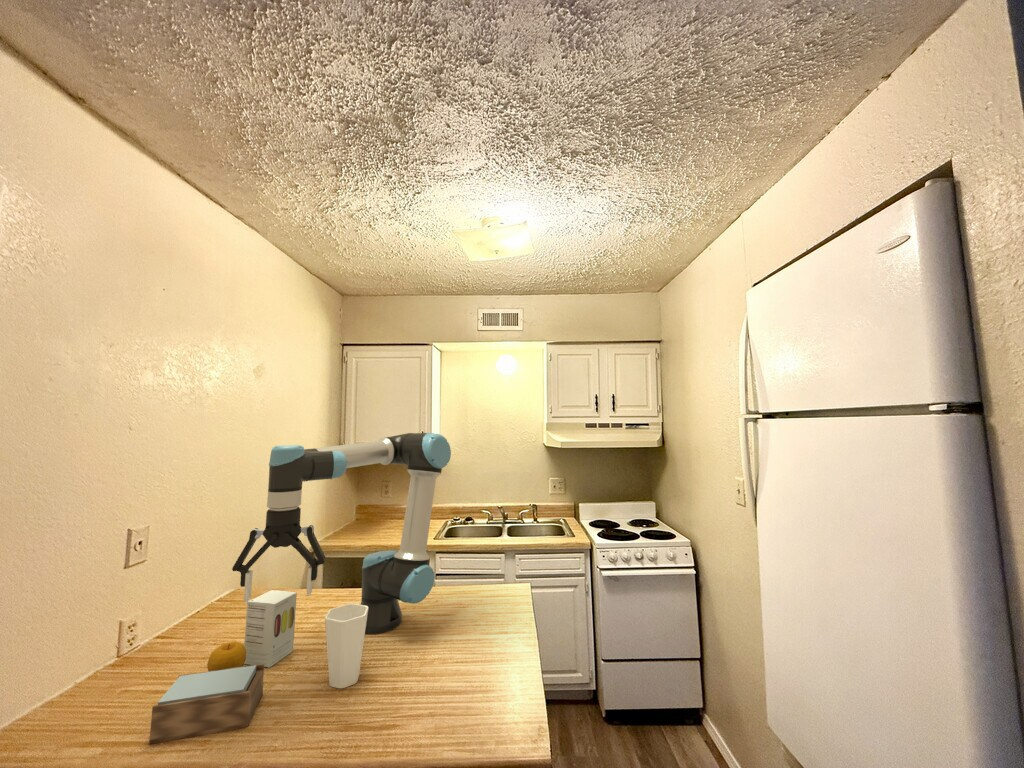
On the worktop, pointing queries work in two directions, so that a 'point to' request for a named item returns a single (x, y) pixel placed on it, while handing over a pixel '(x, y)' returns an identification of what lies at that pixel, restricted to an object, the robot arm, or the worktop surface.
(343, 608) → the cup
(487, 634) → the worktop surface
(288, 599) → the supplement box
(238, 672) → the cover plate
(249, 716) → the box
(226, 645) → the apple
